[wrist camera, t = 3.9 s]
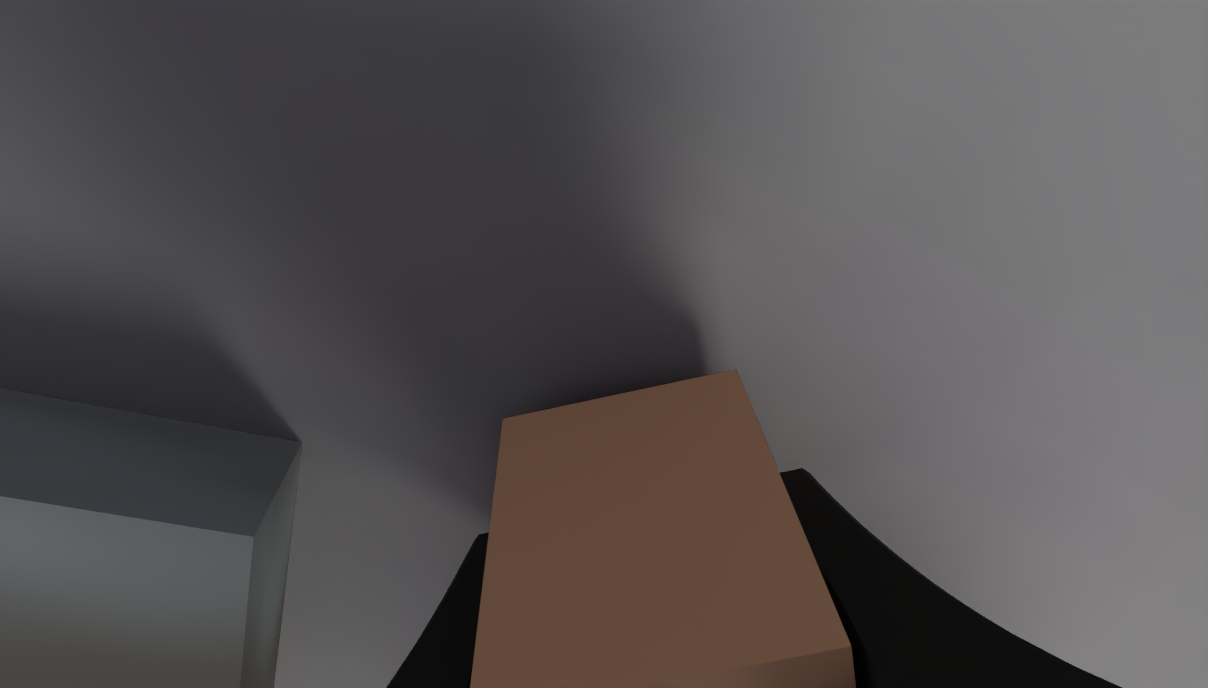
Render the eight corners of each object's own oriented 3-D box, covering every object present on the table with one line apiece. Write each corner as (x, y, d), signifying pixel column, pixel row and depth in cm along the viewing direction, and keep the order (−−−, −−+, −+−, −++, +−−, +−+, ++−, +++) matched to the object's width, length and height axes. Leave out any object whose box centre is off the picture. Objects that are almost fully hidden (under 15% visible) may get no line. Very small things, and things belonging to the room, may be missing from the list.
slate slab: (272, 726, 18) (224, 860, 16) (-119, 676, 17) (-244, 812, 15) (307, 431, 15) (253, 537, 12) (-175, 344, 14) (-350, 439, 11)
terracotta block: (736, 369, 14) (850, 645, 8) (766, 553, 15) (878, 880, 10) (503, 418, 14) (465, 721, 8) (558, 594, 16) (558, 938, 10)
